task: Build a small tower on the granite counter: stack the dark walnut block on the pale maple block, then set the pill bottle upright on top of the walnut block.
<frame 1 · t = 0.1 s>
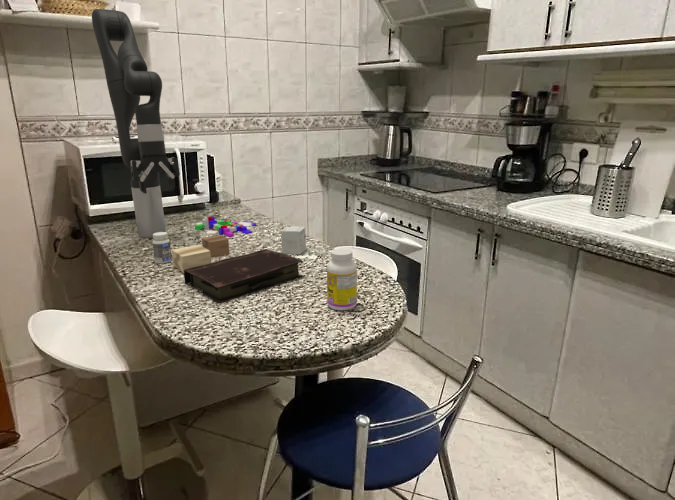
hand: (158, 191, 146), 17 cm above the counter, tool pointing down, fingers open, 8 cm apart
building block set: (228, 229, 170), on the counter
skincare box: (294, 252, 142), on the counter
supplement bottle: (342, 306, 103), on the counter
walnut block: (216, 254, 140), on the counter
diary: (245, 282, 119), on the counter
pill bottle: (163, 261, 134), on the counter
maple block: (192, 267, 129), on the counter
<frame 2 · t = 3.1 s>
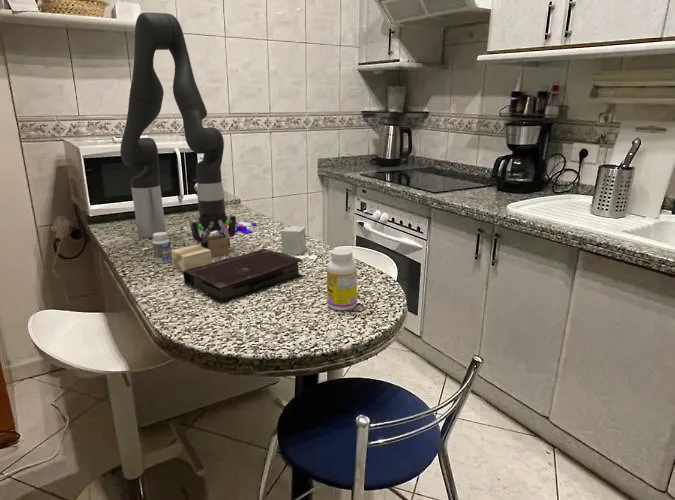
hand: (216, 251, 140), 1 cm above the counter, tool pointing down, fingers closed on walnut block, 6 cm apart
walnut block: (216, 253, 140), on the counter, touching gripper
everything else where it was.
when the fingers open (7 cm above the counter, at t = 7.3 s): walnut block drops 2 cm, resting on maple block.
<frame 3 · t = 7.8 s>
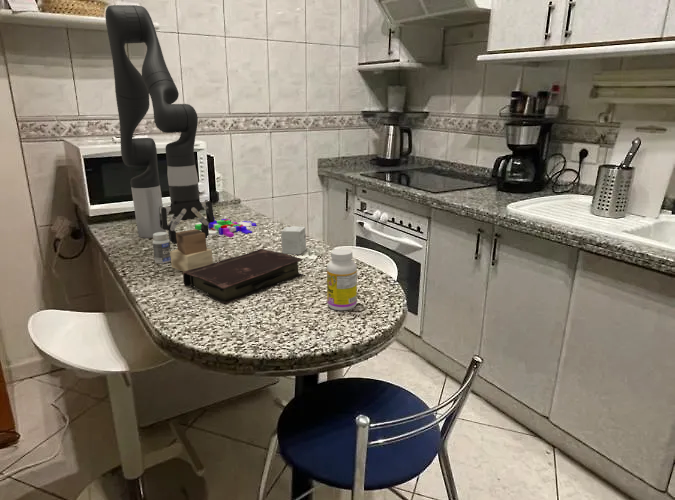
hand: (189, 240, 127), 8 cm above the counter, tool pointing down, fingers open, 8 cm apart
walnut block: (192, 250, 128), point 5 cm above the counter, touching maple block
maple block: (192, 267, 129), on the counter, touching walnut block
everything else where it was.
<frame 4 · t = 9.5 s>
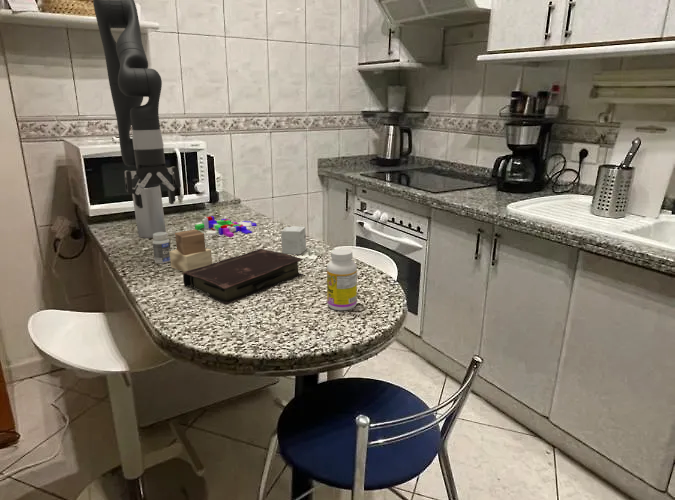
hand: (156, 205, 129), 17 cm above the counter, tool pointing down, fingers open, 8 cm apart
nothing on the counter moved.
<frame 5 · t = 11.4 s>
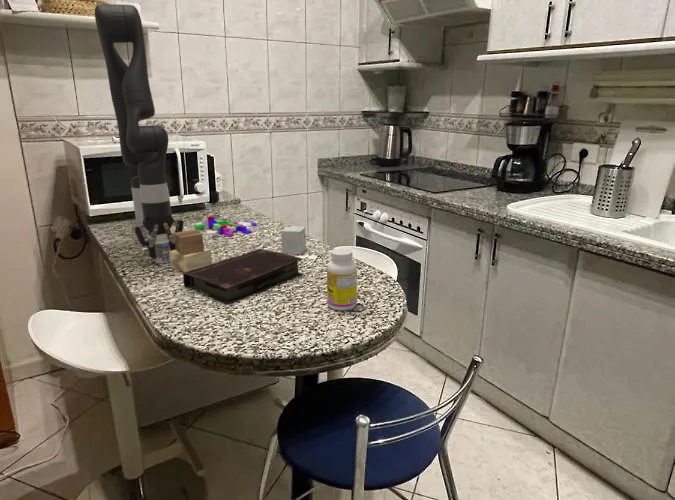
hand: (162, 256, 133), 1 cm above the counter, tool pointing down, fingers closed on pill bottle, 4 cm apart
pill bottle: (163, 261, 134), on the counter, touching gripper
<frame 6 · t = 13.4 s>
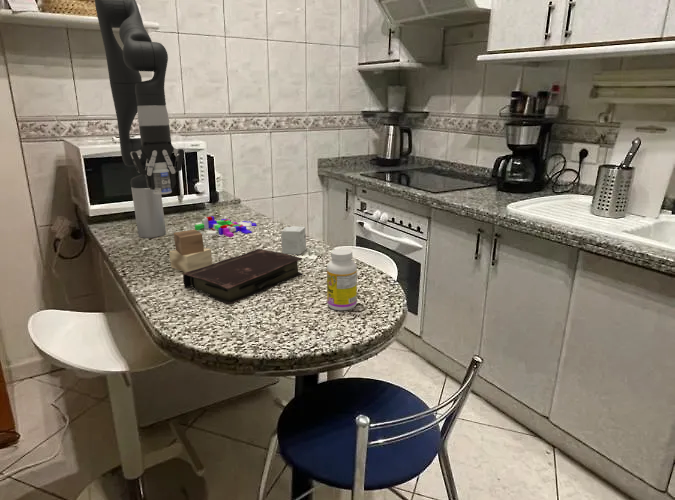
hand: (162, 188, 125), 22 cm above the counter, tool pointing down, fingers closed on pill bottle, 4 cm apart
walnut block: (189, 250, 127), point 5 cm above the counter
pill bottle: (162, 193, 125), point 20 cm above the counter, touching gripper
maple block: (192, 267, 129), on the counter
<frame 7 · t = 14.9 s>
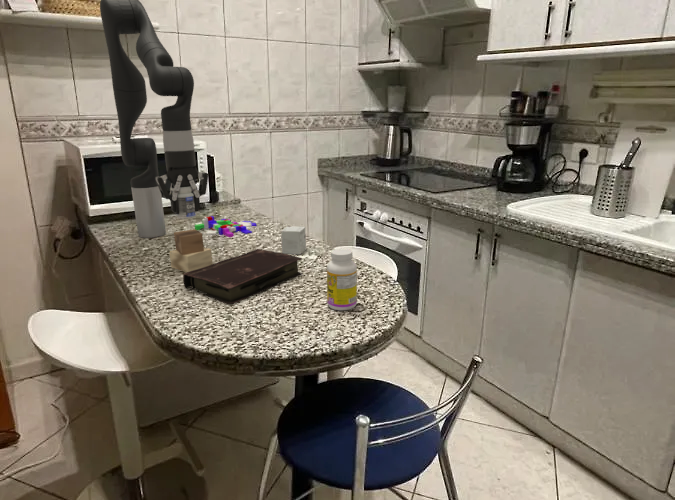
hand: (186, 212, 124), 16 cm above the counter, tool pointing down, fingers closed on pill bottle, 4 cm apart
walnut block: (189, 250, 127), point 5 cm above the counter, touching maple block
pill bottle: (187, 217, 125), point 14 cm above the counter, touching gripper
maple block: (192, 267, 129), on the counter, touching walnut block
when the fingers open (13 cm above the counter, at t = 15.9 s): pill bottle drops 1 cm, resting on walnut block.
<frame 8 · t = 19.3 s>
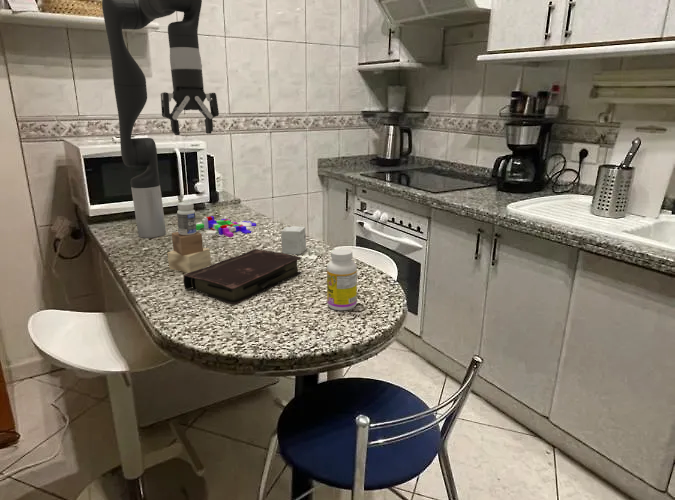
hand: (193, 134, 120), 36 cm above the counter, tool pointing down, fingers open, 8 cm apart
walnut block: (188, 250, 127), point 5 cm above the counter, touching pill bottle
pill bottle: (187, 233, 126), point 10 cm above the counter, touching walnut block
maple block: (190, 267, 129), on the counter
at the end: walnut block 0.4 cm off-centre on the maple block, point 5.0 cm above the maple block's base; pill bottle 0.3 cm off-centre on the walnut block, point 4.9 cm above the walnut block's base; pill bottle tilted 4° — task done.
